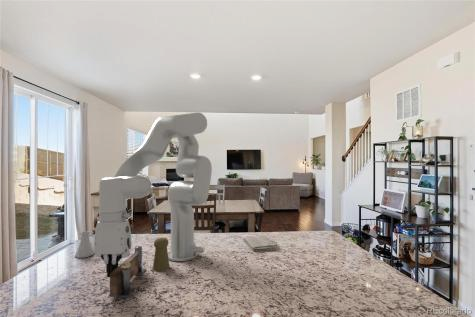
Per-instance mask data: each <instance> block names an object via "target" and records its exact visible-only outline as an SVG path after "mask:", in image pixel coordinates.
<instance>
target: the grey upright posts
mask: <svg viewBox="0 0 475 317" xmlns="http://www.w3.org/2000/svg"><path fill="white" fill-rule="evenodd" d="M134 253H139V256H138V272H137V273H136V274H135V275H134V276H142V275H143V274H144V273H145V272H146V271H147V268H145V267H144V268H143V247H142V246H140V245H137V246H135V247H134ZM122 263H123V262H122ZM122 263H120V265H121V291H120V292H119V294H118V295H117V296H116V297H115V298H122V299H123V298H128V299H129V298H130V297H131V296H132V295H133V294H134V293H135V291H136V288H131V280H130V267H131V263H123V264H122Z"/></svg>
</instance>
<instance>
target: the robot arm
mask: <svg viewBox="0 0 475 317" xmlns="http://www.w3.org/2000/svg"><path fill="white" fill-rule="evenodd" d="M207 127H208V120H207V117H206V116H205V114H204V113H202V112H190V113H181V114H176V115H168V116H166V115H165V116H161V117H158V118H157V119H156V120H155V121H154V123H153V124H152V126H151V128H150V129H149V131H148V134H147V135H146V137H145V139H144V141H143V143H142V144H141V145H140V147H139V148H138V149H136V150H135V151H134V152H133V153H132V154H130V156H128V157H127V158H126V159H125V160H124V161H123V162H122V164H121V165H120V166H119V167H118V170H117V171H116V173H115V175H114V176H113V177H103V178H101V179H100V180H99V184H98V188H99V189H98V190H99V191H98V195H99V196H98V198H99V199H98V221H97V223H96V226H95V231H94V239H93V249H94V251H95V253H94V256H95V257H96V258H99V259H101V260H103V262H104V264H105V266H106V268H105V272H106V278H110V274H111V273H112V272H113V271H114V270H115V269H116V268H117V267H119V262H120V261H121V259H124V258H129V257H130V256H131V254H130V250H131V249H132V232H131V226H130V221H129V219H127V218H130V215H131V214H130V213H129V212H127V210H126V209H127V207H126V206H127V205H126V204H127V199H143V198H144V197H147V196H148V195H149V193H150V192H151V190H152V183H151V180H150V179H148V178H147V177H145V176H142V175H139V173H140V172H141V171H143V170H144V169H145V168H146V167H148V166H150V165H152V164H155V163H156V162H158V161H160V160H161V159H163V157H164V155H165V153H166V151H167V150H168V147H169V145H170V144H171V141H172V139H177V140H178V153H177V159H176V166H175V173H176V174H177V176H178V177H180V178H185V179H193V181H191V180H178V181H174V182H173V183H171V184H170V185H169V188H168V191H167V193H168V195H167V196H168V201H169V204H170V206H169V207H170V251H169V252H168V259H169V261H173V262H186V261H191V260H193V259H195V258H196V257H198V253H199V254H200V253H201V254H203V253H205V248H204V247H203V246H197V244H196V242H195V214H194V209H193V207H192V206H202V205H204V204H205V203H206V202H207V200H208V198H209V194H210V189H211V188H210V186H211V180H212V172H213V167H212V163H211V160H210V159H209V157H207V156H205V155H199V149H200V146H199V141H198V140H197V138H196V137H195V135H198V134H202V133H204V132H205V130H206V129H207Z"/></svg>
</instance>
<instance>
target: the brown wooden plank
mask: <svg viewBox="0 0 475 317" xmlns="http://www.w3.org/2000/svg"><path fill="white" fill-rule="evenodd" d="M138 256H139V253H135V252H133V253H132V254H130V255H129V256H128V257H127V259H126V260H124V261H123V262H122V263H121V264H123V263H131V267H130V281H131V280H132V279H133V278H134V277H135V276H136V275H135V274H136V273H137V272H138ZM121 264H120V265H118V267H117V268H116V269H115V270H114V271H113V272H112V273H111V274H110V277H109V298H110V297H111V298H117V297H116V296H117V295H118V294H119V292H120V291H121Z"/></svg>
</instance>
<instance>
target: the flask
mask: <svg viewBox="0 0 475 317" xmlns="http://www.w3.org/2000/svg"><path fill="white" fill-rule="evenodd" d="M90 232H91V231H90V230H85V231H81V232H80V234H81V236H80V242H79V245H78V248H77V250H76V252H75V255H74V258H78V259H79V258H80V259H81V258H89V257H91V256H94V255H95V251H94V246H93V245H92V242H91V240H90V239H91V238H90Z"/></svg>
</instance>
